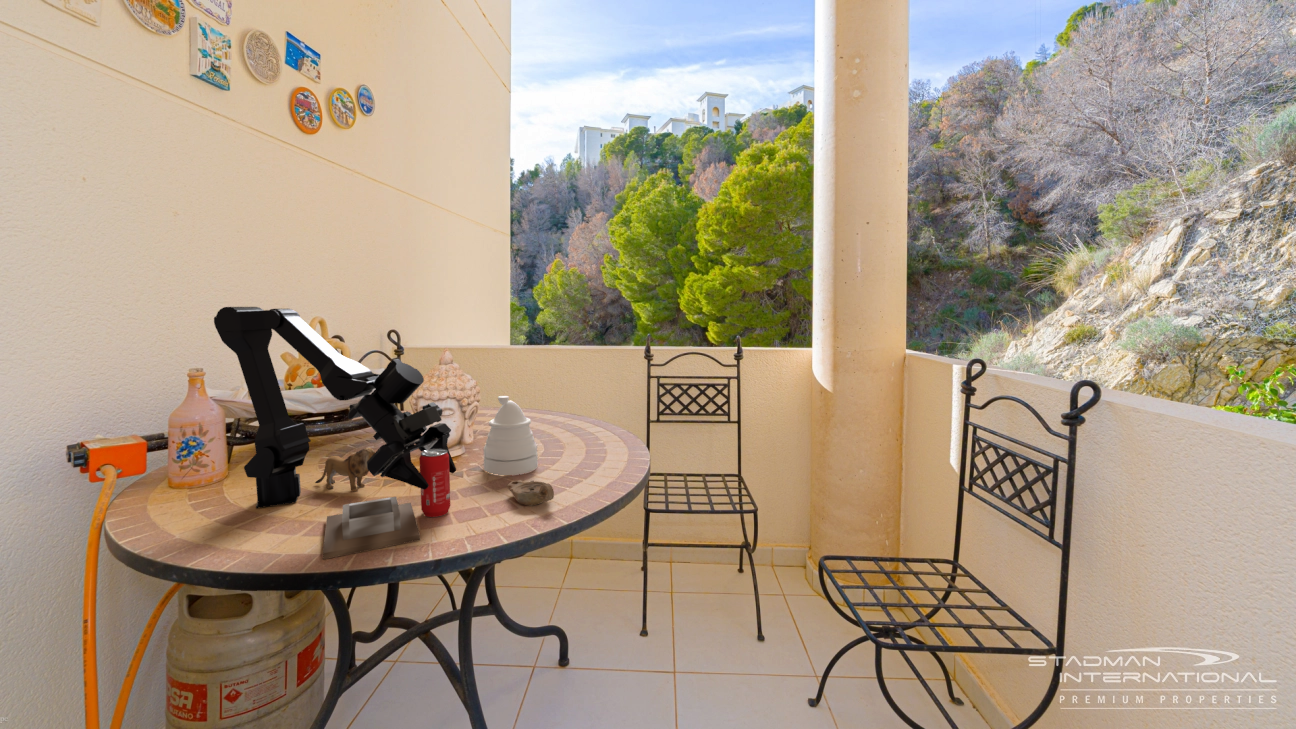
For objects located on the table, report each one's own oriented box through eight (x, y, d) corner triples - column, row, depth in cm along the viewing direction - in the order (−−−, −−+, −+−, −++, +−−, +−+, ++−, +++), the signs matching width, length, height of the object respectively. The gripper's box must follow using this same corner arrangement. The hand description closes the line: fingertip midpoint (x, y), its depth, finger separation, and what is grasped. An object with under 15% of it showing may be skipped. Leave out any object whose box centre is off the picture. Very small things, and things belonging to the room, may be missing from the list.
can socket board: (322, 559, 80) (321, 535, 80) (327, 521, 94) (326, 500, 93) (420, 540, 87) (419, 517, 87) (411, 507, 101) (410, 487, 100)
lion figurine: (385, 484, 113) (383, 445, 112) (369, 493, 108) (367, 452, 107) (324, 481, 115) (321, 442, 114) (305, 489, 110) (302, 449, 109)
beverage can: (440, 519, 95) (438, 457, 94) (415, 516, 96) (413, 455, 95) (456, 508, 100) (454, 449, 99) (432, 506, 101) (430, 447, 100)
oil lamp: (498, 498, 107) (498, 475, 106) (529, 489, 112) (529, 467, 111) (534, 516, 98) (534, 491, 97) (566, 505, 103) (566, 481, 102)
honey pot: (508, 479, 118) (507, 402, 116) (472, 469, 125) (470, 396, 122) (548, 465, 128) (547, 394, 126) (512, 456, 135) (511, 389, 133)
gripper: (378, 400, 87) (439, 467, 87) (440, 384, 106) (491, 439, 105) (340, 442, 90) (399, 508, 89) (408, 419, 108) (457, 474, 107)
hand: (441, 479), depth 97 cm, fingers open, 9 cm apart
